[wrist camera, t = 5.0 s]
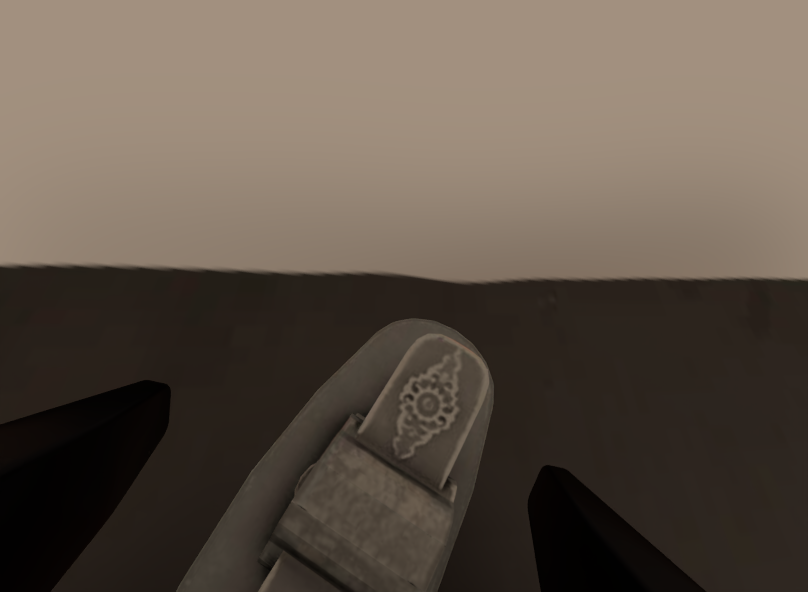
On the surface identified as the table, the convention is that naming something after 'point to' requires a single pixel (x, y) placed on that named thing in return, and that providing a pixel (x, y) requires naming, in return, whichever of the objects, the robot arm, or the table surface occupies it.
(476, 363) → the lighter
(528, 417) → the table surface
